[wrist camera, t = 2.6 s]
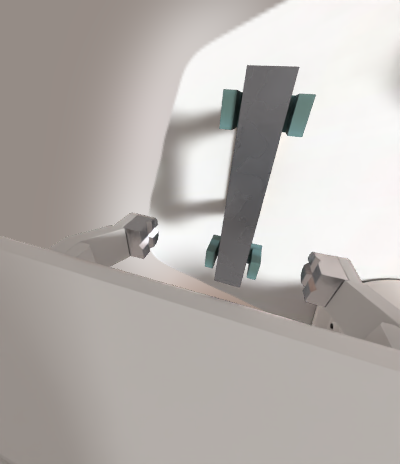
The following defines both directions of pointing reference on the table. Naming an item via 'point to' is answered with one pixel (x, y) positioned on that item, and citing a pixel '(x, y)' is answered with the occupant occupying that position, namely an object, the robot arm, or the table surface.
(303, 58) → the table surface
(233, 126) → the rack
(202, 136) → the table surface
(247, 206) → the rail
